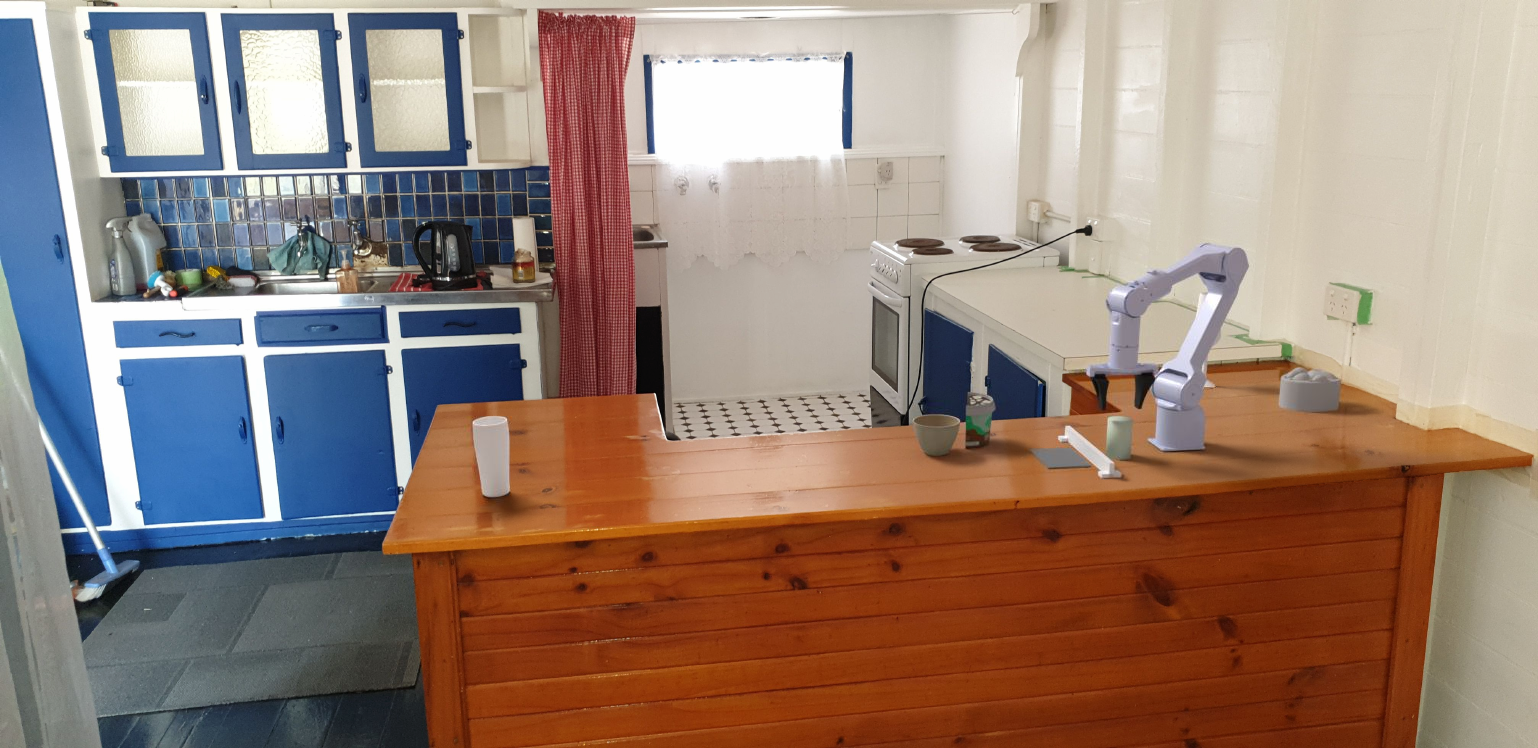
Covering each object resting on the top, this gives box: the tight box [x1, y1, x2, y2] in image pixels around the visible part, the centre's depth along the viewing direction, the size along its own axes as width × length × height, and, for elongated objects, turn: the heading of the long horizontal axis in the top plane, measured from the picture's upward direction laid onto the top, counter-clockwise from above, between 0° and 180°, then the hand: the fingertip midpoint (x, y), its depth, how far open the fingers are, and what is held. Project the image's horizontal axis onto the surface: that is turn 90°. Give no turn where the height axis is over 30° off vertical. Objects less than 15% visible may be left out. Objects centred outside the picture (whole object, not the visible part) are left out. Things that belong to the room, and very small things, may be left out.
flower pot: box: [912, 414, 961, 457], centre depth 239 cm, size 10×10×7 cm
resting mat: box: [1029, 447, 1092, 470], centre depth 234 cm, size 9×12×1 cm
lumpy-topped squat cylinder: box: [1278, 366, 1342, 413], centre depth 267 cm, size 10×13×9 cm
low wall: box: [1057, 425, 1122, 479], centre depth 234 cm, size 4×26×3 cm, turn 5°
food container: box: [964, 391, 996, 450], centre depth 244 cm, size 12×6×10 cm, turn 168°
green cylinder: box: [1105, 415, 1134, 461], centre depth 234 cm, size 5×5×8 cm
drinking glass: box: [472, 415, 511, 498], centre depth 219 cm, size 7×7×15 cm
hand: (1120, 408), depth 232 cm, fingers open, 7 cm apart
